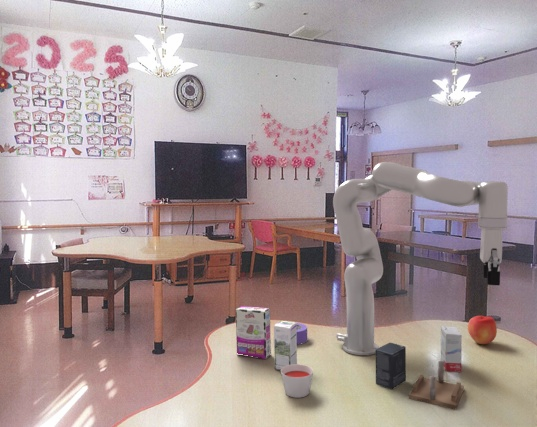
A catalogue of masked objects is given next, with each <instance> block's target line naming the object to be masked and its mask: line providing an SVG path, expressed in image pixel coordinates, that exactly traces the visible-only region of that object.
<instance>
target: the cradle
mask: <svg viewBox="0 0 537 427" xmlns="http://www.w3.org/2000/svg"><path fill="white" fill-rule="evenodd" d="M437 368H438V371H437V372H438V377H437V378H438V380H436V376H435V375H429V378H428V377H425V375H423V374H420V375H419V376H418V378H417V379H416V381H415V383H414V384H413V386H412V389H411V391H410V392H409V394H408V399H410V400H414V401H419V402H423V403H428V404H432V405H435V406H436V405H437V406H440V407H441V406H442V407H443V408H444V407H445V408H448V409H449V408H450V409H453V410H457V408H458V405H459V402H460V400H461V398H462V395H463V392H464V390H465V385H462V382H458V381H457V382H456V383H453V382H448V381H445V379H444V378H445V376H444V375H445V374H444V370H445V368H444V362H443V361H441V360H439V361H438V367H437Z"/></svg>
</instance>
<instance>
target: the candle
mask: <svg viewBox="0 0 537 427" xmlns="http://www.w3.org/2000/svg"><path fill="white" fill-rule="evenodd" d="M280 373H281V379H282V384H283V389H284V393H285V394H286V395H287V396H288V397H291V398H297V399H299V398H305V397H306V396H308V395H309V394H310V390H311V386H312V381H313V380H312V379H313V374H314V370H313V368H312V367H311V366H309V365H306V364H299V363H297V364H292V365H287V366H285V367H283V368H282V369H281V370H280Z"/></svg>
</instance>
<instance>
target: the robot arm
mask: <svg viewBox="0 0 537 427" xmlns="http://www.w3.org/2000/svg"><path fill="white" fill-rule="evenodd" d="M508 190H509V188H508V184H507V183H506V182H505V181H501V180H500V181H483V182H482V181H481V182H480V181H470V180H458V179H457V180H456V179H453V178H449V177H443V176H438V175H437V174H436V175H435V174H432V173H430V172H429V171H427V170H425V169H421V168H417V167H411V166H407V165H403V164H399V163H397V162H392V161H391V162H390V161H383V162H378V163H377V164H376V165H375V166H374V167H373V169H372V170H371V175H369V176H368V177H366V178H352V179H348V180H346V181H344V182H343V183H341V184H340V185H339V186H338V187H337V188H336V190H335V191H334V195H333V198H332V199H333V200H332V207H333V211H334V215H335V218H336V223H337V229H338V234H339V240H340V244H341V249H342V251H343V253H344V254H345V255H346V256H348V257H351V258H355V259H356V260H355V261H352V262H351V263H349V264H348V265H347V266H346V268H345V270H344V274H343V277H344V278H343V279H344V285H345V292H346V297H345V298H346V333H345V334H343V333H339V332H338V333H336V340H337V341H339V342H343V343H342V347H341V348H342V350H343V351H344V352H346V353H348V354H351V355H356V356H370V355H371V356H372V355H374V354H375V355H376V352H375V350H376V349H378V348H380V346H379V345H378V344H377V343H375V294H374V291H373V284H375V283H376V282H378V281H380V279H382V276H383V274H384V264H383V260H382V256H381V250H380V246H379V241H378V239H377V236H376V234H375V233H374V232H373V231H372V230H371V229H369V228H367V227H363V226H364V225H363V223H362V216H361V214H360V212H359V209H358V204H363V203H370V202H372V201H375V200H376V199H378V198H380V197H383V196H384V195H385V194H387V193H390V192H391V191H397V192H401V193H405V194H407V195H408V194H409V195H412V196H416V197H418V198H423V199H427V200H429V201H433V202H436V203H441V204H444V205H449V206H451V207H452V206H454V207H459V208H463V207H469V206H474V205H478V218H477V222H478V223H477V224H478V226H477V227H478V229H480V230H481V233H480V250H479V259H480V261H481V262H482V263H483V268H482V270H483V272H482V273H483V274H482V275H483V276H482V277H483V278H484V279H486V284H487V285H488V286H500V285H501V270H500V269H501V268H500V264H502V259H503V237H504V236H503V230H507V229H508V199H509V198H508V194H509V192H508Z"/></svg>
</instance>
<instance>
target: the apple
mask: <svg viewBox="0 0 537 427" xmlns="http://www.w3.org/2000/svg"><path fill="white" fill-rule="evenodd" d="M467 331H468V334H469V336H470V337H471V339H472V340H473V341H474V342H475V343H477V344H479V345H488V344H490V343H492V342H493V341H494V340H495V339H496V337H497V332H498V327H497V323H496V320H495V319H494V318H493V317H492V316H484V315H476V316H473V317H472V318H470V319H469V321H468V323H467Z"/></svg>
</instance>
